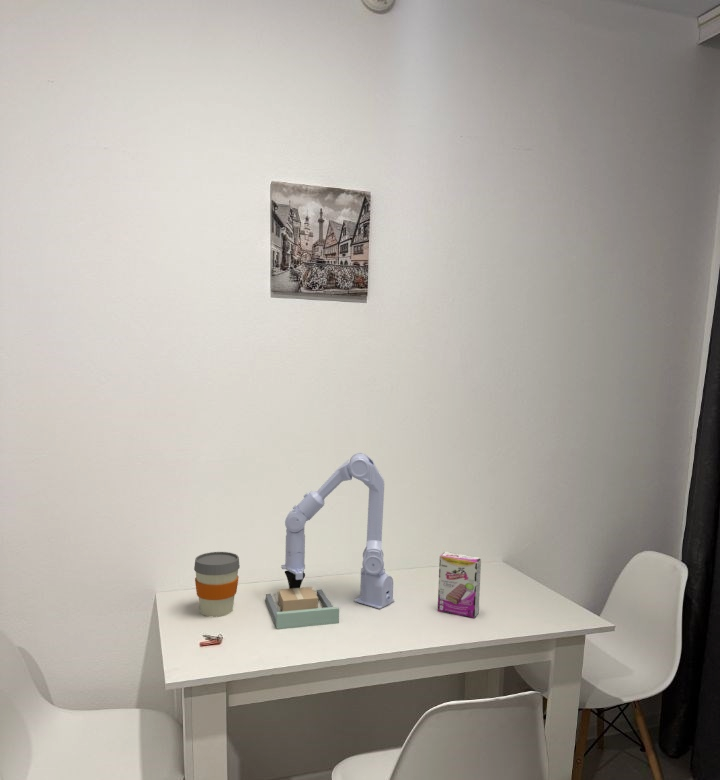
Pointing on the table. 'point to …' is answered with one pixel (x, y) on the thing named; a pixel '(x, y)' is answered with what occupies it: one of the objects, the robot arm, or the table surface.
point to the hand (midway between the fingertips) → (294, 595)
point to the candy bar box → (459, 584)
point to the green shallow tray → (304, 614)
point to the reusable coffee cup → (216, 582)
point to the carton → (297, 599)
